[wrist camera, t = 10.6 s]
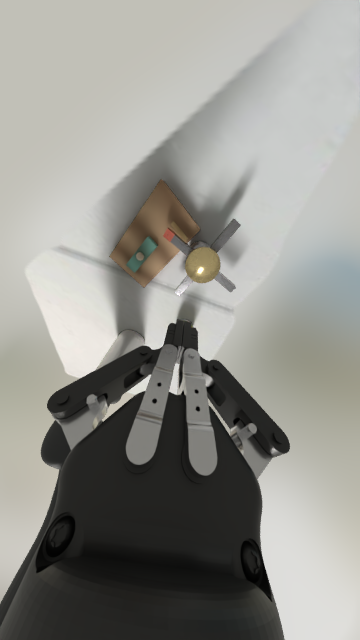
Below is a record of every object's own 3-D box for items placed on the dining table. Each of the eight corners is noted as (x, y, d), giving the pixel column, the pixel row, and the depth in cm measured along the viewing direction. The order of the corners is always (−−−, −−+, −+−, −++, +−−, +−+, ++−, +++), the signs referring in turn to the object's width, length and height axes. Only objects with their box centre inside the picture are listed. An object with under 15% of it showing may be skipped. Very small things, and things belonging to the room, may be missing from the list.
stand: (146, 283, 39) (140, 291, 35) (114, 253, 35) (104, 259, 32) (200, 228, 30) (199, 231, 26) (164, 181, 27) (157, 176, 23)
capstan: (261, 249, 31) (273, 258, 25) (205, 303, 40) (205, 318, 35) (197, 183, 26) (195, 177, 20) (150, 262, 35) (140, 272, 30)
